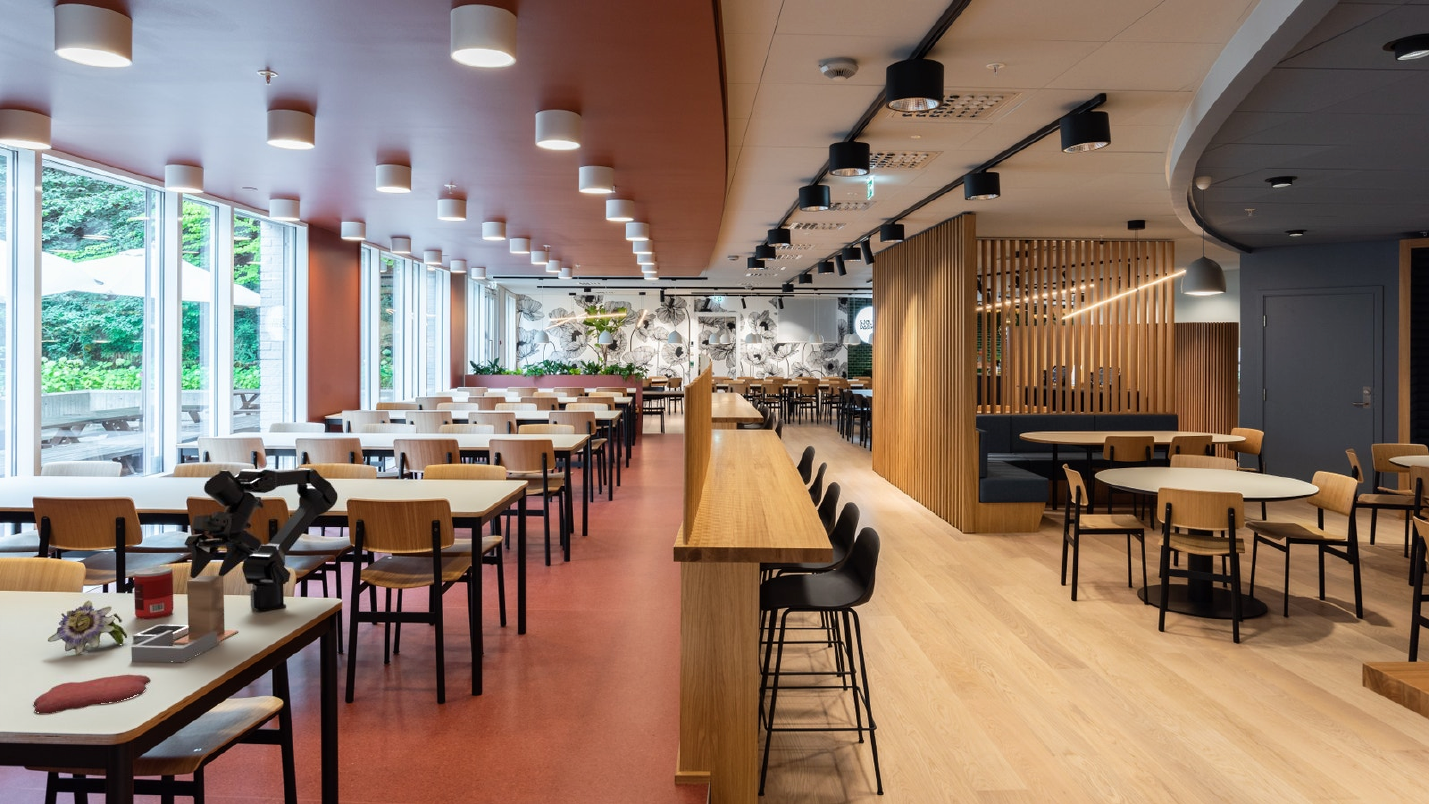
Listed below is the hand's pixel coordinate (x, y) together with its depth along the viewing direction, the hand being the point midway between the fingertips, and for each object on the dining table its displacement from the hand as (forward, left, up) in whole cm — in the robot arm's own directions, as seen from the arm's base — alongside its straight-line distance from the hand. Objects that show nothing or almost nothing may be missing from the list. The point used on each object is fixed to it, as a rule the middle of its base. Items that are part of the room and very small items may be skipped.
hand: (206, 576), depth 198 cm
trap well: (+8, -2, -13) cm, 15 cm away
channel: (+9, +12, -13) cm, 19 cm away
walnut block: (+1, +5, -12) cm, 13 cm away
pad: (+2, +5, -13) cm, 14 cm away
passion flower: (+21, -5, -13) cm, 25 cm away
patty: (+26, +27, -13) cm, 40 cm away
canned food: (+6, -23, -13) cm, 27 cm away
